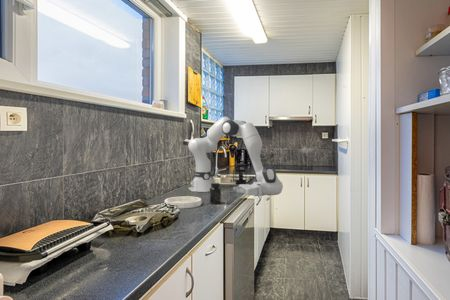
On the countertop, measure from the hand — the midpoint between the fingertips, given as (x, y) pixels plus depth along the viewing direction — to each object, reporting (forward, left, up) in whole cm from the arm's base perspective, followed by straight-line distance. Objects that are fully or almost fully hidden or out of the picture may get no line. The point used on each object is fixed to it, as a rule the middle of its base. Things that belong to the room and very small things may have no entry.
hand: (235, 189), depth 199 cm
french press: (-64, +40, -8) cm, 76 cm away
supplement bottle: (-3, -12, -8) cm, 14 cm away
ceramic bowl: (-8, -30, -7) cm, 32 cm away
